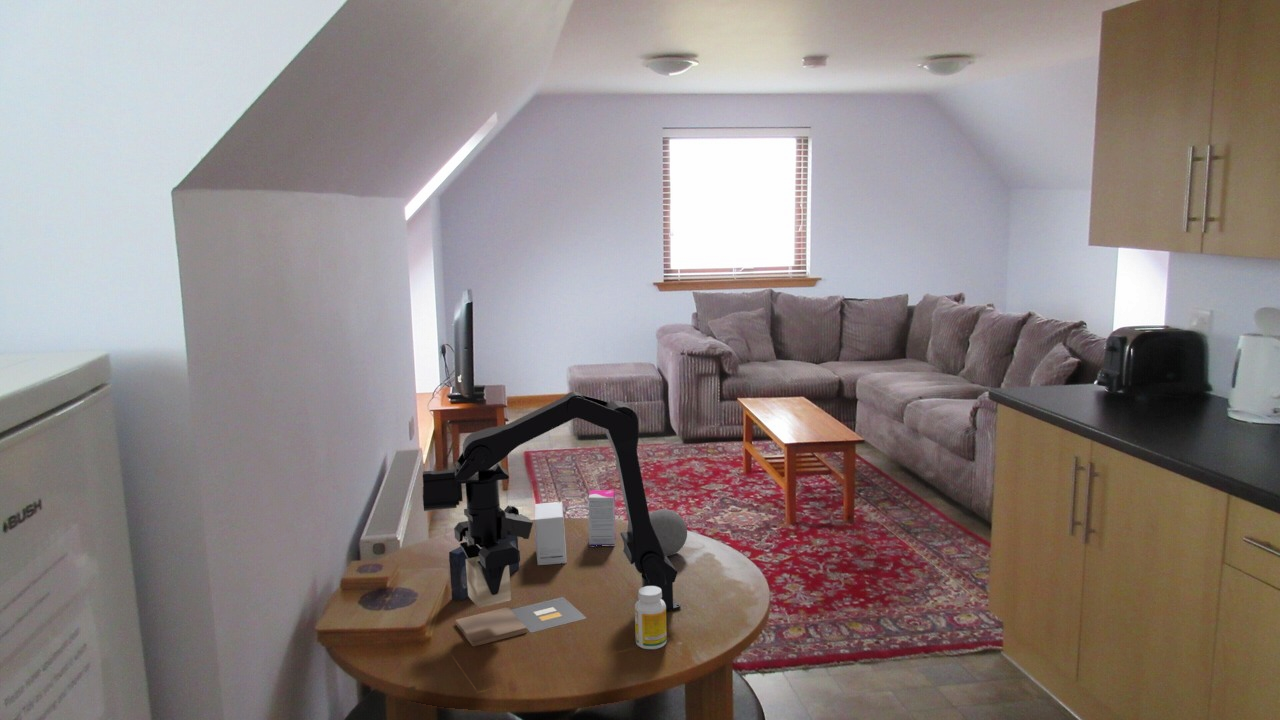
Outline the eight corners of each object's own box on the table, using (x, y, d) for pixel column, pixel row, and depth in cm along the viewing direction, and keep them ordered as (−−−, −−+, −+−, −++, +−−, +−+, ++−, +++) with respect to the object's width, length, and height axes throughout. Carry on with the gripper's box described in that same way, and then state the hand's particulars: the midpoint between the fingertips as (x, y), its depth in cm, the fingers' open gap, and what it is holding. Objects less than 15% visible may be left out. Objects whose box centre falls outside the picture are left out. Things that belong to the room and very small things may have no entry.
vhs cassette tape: (460, 602, 176) (457, 553, 174) (449, 599, 177) (446, 551, 176) (521, 569, 191) (519, 524, 189) (510, 567, 193) (508, 522, 191)
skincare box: (536, 548, 203) (534, 502, 201) (565, 546, 203) (563, 501, 202) (536, 565, 193) (533, 518, 191) (566, 563, 193) (564, 516, 191)
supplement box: (615, 546, 202) (613, 497, 200) (588, 547, 202) (586, 497, 200) (616, 537, 208) (614, 489, 206) (590, 538, 208) (588, 489, 206)
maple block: (511, 600, 162) (508, 562, 161) (478, 608, 159) (476, 570, 158) (499, 588, 167) (497, 552, 166) (468, 595, 164) (465, 559, 163)
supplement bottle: (629, 643, 156) (627, 591, 155) (650, 632, 160) (648, 581, 159) (652, 653, 153) (650, 599, 151) (673, 642, 157) (671, 589, 155)
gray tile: (586, 618, 167) (586, 618, 167) (530, 633, 162) (530, 632, 162) (563, 597, 176) (563, 596, 176) (509, 610, 171) (509, 609, 171)
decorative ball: (697, 554, 196) (696, 509, 194) (663, 567, 189) (661, 521, 188) (665, 542, 203) (664, 499, 202) (632, 554, 197) (630, 510, 195)
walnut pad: (527, 632, 162) (526, 627, 162) (472, 646, 157) (472, 641, 157) (507, 612, 171) (507, 607, 170) (455, 624, 166) (455, 619, 166)
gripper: (546, 510, 156) (550, 596, 158) (508, 483, 172) (513, 561, 174) (483, 522, 150) (489, 611, 153) (450, 493, 167) (456, 574, 169)
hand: (488, 588), depth 163 cm, fingers closed on maple block, 6 cm apart
